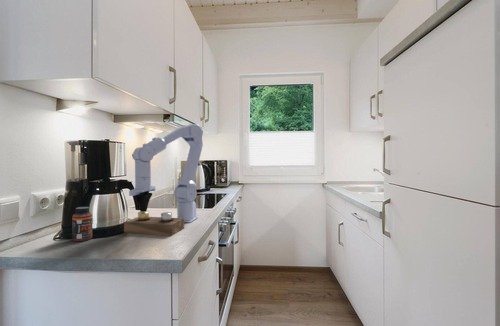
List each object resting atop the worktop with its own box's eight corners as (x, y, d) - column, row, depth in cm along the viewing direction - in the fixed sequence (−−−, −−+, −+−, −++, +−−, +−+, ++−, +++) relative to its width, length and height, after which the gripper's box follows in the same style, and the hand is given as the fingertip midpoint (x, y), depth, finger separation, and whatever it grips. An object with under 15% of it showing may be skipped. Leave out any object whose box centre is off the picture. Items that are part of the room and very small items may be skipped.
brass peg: (142, 219, 106) (141, 211, 106) (150, 219, 105) (150, 211, 105) (135, 221, 102) (135, 213, 102) (145, 222, 101) (145, 213, 101)
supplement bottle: (82, 242, 88) (82, 209, 88) (68, 241, 89) (67, 208, 89) (96, 237, 94) (96, 206, 94) (82, 236, 95) (82, 205, 95)
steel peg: (164, 220, 104) (164, 212, 104) (173, 221, 103) (173, 212, 103) (159, 223, 100) (159, 214, 100) (168, 223, 99) (168, 214, 99)
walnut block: (140, 225, 110) (139, 216, 109) (184, 228, 106) (183, 218, 106) (124, 232, 100) (124, 222, 100) (172, 235, 96) (172, 224, 96)
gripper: (144, 175, 111) (145, 207, 111) (121, 178, 97) (122, 214, 97) (159, 176, 110) (160, 207, 110) (138, 178, 95) (139, 215, 96)
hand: (143, 211), depth 103 cm, fingers closed
